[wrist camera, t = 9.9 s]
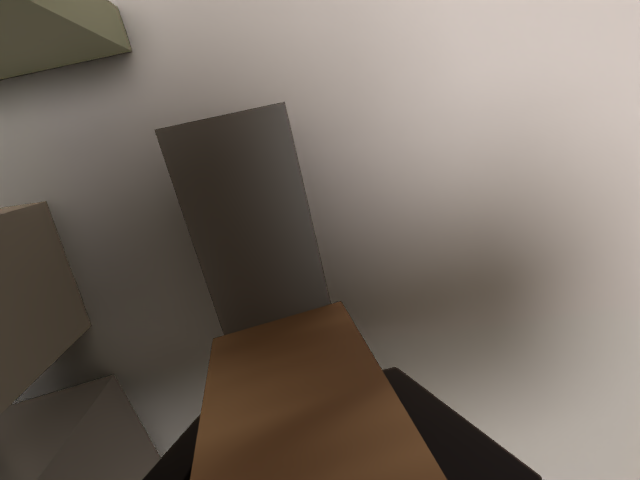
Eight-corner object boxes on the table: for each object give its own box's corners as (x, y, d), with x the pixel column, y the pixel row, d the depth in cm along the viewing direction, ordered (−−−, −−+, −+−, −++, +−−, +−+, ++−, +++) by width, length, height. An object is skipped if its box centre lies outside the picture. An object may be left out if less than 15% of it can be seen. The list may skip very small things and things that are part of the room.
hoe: (282, 111, 10) (503, -66, 1) (359, 443, 14) (553, 960, 5) (171, 135, 10) (-434, 89, 1) (281, 471, 13) (348, 1079, 5)
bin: (117, 6, 9) (-13, -85, 5) (286, 518, 14) (284, 659, 10) (-286, 93, 9) (-727, 64, 5) (38, 575, 14) (-56, 740, 10)
